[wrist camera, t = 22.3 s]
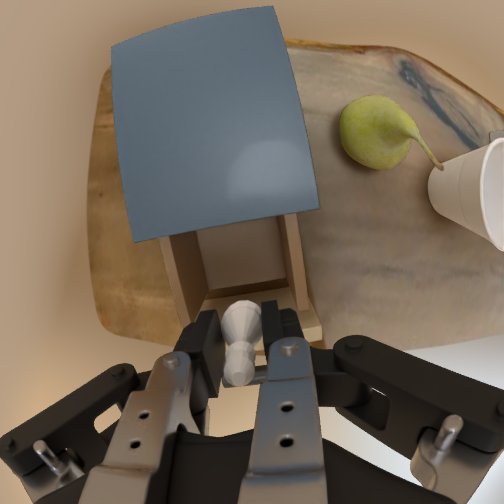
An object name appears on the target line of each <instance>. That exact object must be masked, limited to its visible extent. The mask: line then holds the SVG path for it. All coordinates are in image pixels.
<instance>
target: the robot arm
mask: <svg viewBox="0 0 504 504" xmlns="http://www.w3.org/2000/svg"><path fill="white" fill-rule="evenodd" d="M261 314H262V335H263V346H264V351H265V356H266V360H267V374H266V381H261V383H260V389H259V397H258V404H257V411H256V419H255V427H254V429H251V430H247V431H244V432H240V433H236V434H232V435H228V436H224V437H213V436H209V419H210V409H209V406H208V404H207V403H208V399H209V398H218V393H219V387H220V382H221V376H222V370H223V364H224V358H225V353H226V345H225V340H224V338H223V335H222V332H221V323H220V319H219V316H218V312H217V310H216V309H213V310H206V311H200V312H199V315H198V317H197V319H196V321H195V322H192V323H190V324H188V325H187V326H186V327H185V328H184V329H183V331H182V333H181V335H180V337H179V340H178V341H177V343H176V346H175V348H174V350H173V352H170V353H167V354H165V355H163V356H161V357H159V358H158V359H157V360H156V362H155V364H154V366H153V369H152V370H150V371H147V372H142V373H138V374H137V372H136V370H135V368H134V366H133V365H131V364H127V363H123V364H118V365H115V366H113V367H111V368H109V369H107V370H106V371H104V372H103V373H101V374H100V375H98V376H97V377H95V378H94V379H92V380H90V381H89V382H88V383H86V384H84V385H83V386H81V387H80V388H78V389H77V390H75V391H73V392H72V393H70V394H69V395H67V396H66V397H64V398H63V399H61V400H60V401H58V402H56V403H55V404H53V405H52V406H50V407H48V408H47V409H45V410H43V411H42V412H40V413H39V414H37V415H35V416H34V417H32V418H31V419H29V420H27V421H26V422H24V423H23V424H21V425H20V426H18V427H16V428H14V429H13V430H11V431H10V432H8V433H6V434H5V435H3V436H2V437H1V438H0V458H1V459H2V460H3V461H4V462H5V463H6V464H7V465H8V466H9V467H10V469H11V470H12V471H13V473H14V474H15V475H16V476H17V477H18V478H19V479H20V480H21V482H22V484H23V486H24V488H25V490H26V492H27V494H28V495H29V497H30V499H31V501H32V502H33V504H467V502H468V501H469V500H470V498H471V497H472V495H473V494H474V492H475V491H476V489H477V488H478V487H479V485H480V484H481V482H482V480H483V479H484V477H485V476H486V474H487V472H488V471H489V469H490V468H491V466H492V465H493V464H494V463H495V461H496V460H497V459H498V457H499V456H500V455H501V453H502V452H503V451H504V390H503V389H499V388H497V387H494V386H491V385H488V384H486V383H483V382H480V381H477V380H475V379H472V378H469V377H467V376H464V375H461V374H459V373H456V372H453V371H451V370H448V369H446V368H443V367H440V366H438V365H435V364H433V363H430V362H428V361H425V360H423V359H420V358H417V357H415V356H413V355H410V354H408V353H405V352H403V351H400V350H398V349H395V348H393V347H391V346H388V345H386V344H383V343H381V342H379V341H376V340H374V339H371V338H369V337H366V336H363V335H351V336H346V337H344V338H341V339H340V340H338V341H337V342H336V343H335V344H334V347H333V349H317V348H313V347H311V346H310V345H309V342H308V341H307V340H306V339H305V337H304V334H303V331H302V328H301V325H300V322H299V319H298V315H297V312H296V311H294V310H293V309H291V308H286V309H280V310H279V309H278V304H277V300H271V301H265V302H261ZM372 388H374V389H376V390H378V391H379V392H382V393H383V394H384V395H383V394H381V393H379V392H377V391H375V390H374V389H372ZM115 403H116V404H117V406H118V408H119V409H120V411H121V413H122V415H121V417H120V419H118V420H117V421H116V422H114V423H113V424H112V425H110V426H109V427H108V428H107V429H105V430H104V431H103V432H101V433H98V432H97V430H96V429H95V427H94V421H95V419H96V417H97V416H99V415H100V414H102V413H103V412H104V411H106V410H107V409H108V408H110V407H111V406H112V405H114V404H115ZM318 407H335V409H336V411H337V412H338V413H339V414H341V415H342V416H344V417H345V418H346V419H348V420H349V421H351V422H352V423H353V424H355V425H357V426H358V427H359V428H361V429H362V430H364V431H365V432H367V433H368V434H370V435H371V436H373V437H374V438H376V439H377V440H379V441H381V442H382V443H384V444H385V445H387V446H388V447H390V448H391V449H393V450H395V451H396V452H398V453H400V454H401V455H403V456H405V457H406V458H408V459H410V460H411V463H410V470H411V473H412V475H413V476H414V477H415V478H416V479H417V480H418V481H419V482H420V483H421V484H422V486H423V487H422V486H419V485H417V484H414V483H412V482H409V481H407V480H405V479H403V478H400V477H398V476H396V475H394V474H392V473H390V472H387V471H385V470H383V469H381V468H379V467H377V466H375V465H373V464H371V463H369V462H368V461H366V460H364V459H362V458H360V457H358V456H356V455H354V454H353V453H351V452H349V451H347V450H345V449H344V448H342V447H340V446H338V445H337V444H335V443H333V442H331V441H329V440H326V439H324V438H322V435H321V425H320V416H319V408H318ZM66 448H67V450H66Z"/></svg>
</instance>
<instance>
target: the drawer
mask: <svg viewBox="0 0 504 504" xmlns="http://www.w3.org/2000/svg"><path fill="white" fill-rule="evenodd" d="M158 239H159V243H160V248H161V252H162V256H163V260H164V264H165V268H166V272H167V276H168V280H169V284H170V287H171V291H172V295H173V298H174V302H175V305H176V309H177V312H178V316H179V319H180V322H181V325H182V328H185V327H186V326H187V325H188V324H190V323H192V322H195V321H196V319H197V317H198V315H199V312H200V311H206V310H213V309H216V310H217V312H218V316H219V319H220V323H221V321H222V318H223V315H224V313H225V312H226V310H227V309H228V308H229V307H230V305H232V304H234V303H236V302H238V301H246V300H248V301H251V302H253V303H255V304H257V305H258V306H259V307H260V309H261V302H265V301H271V300H277V304H278V309H279V310H280V309H286V308H291V309H293V310H294V311H296V312H297V315H298V319H299V322H300V325H301V328H302V331H303V334H304V337H305V339H306V340H307V341H308V342H312V341H318V340H322V327H321V324H320V322H319V320H318V317H317V315H316V313H315V311H314V309H313V307H312V304H311V302H310V300H309V298H308V293H307V285H306V277H305V269H304V261H303V254H302V247H301V240H300V233H299V226H298V220H297V213H292V214H286V215H280V216H274V217H268V218H262V219H256V220H250V221H245V222H239V223H234V224H228V225H223V226H217V227H212V228H207V229H201V230H196V231H191V232H186V233H181V234H176V235H171V236H166V237H161V238H158ZM282 278H287V280H288V283H289V286H290V287H285V288H279V289H273V290H267V291H261V292H255V293H249V294H242V295H236V296H229V297H223V298H216V299H209V300H205V298H206V295H207V293H208V291H209V290H213V289H220V288H227V287H233V286H239V285H246V284H252V283H258V282H264V281H270V280H276V279H282ZM225 345H226V352H227V349H228V348H229V346H228V345H227V344H226V342H225ZM254 350H255V351H259V350H264V346H263V336H262V338H261V340H260V341H259V342H258V343H257V345H256V346H255V347H254ZM225 362H226V353H225V358H224V364H223V370H222V376H221V378H222V384H223V386H224V387H225V388H230V387H236V386H233V385H231V384H230V383H229V382H227V381H226V378H225V376H224V366H225ZM266 374H267V365H262V366H255V375H254V377H253V379H252V380H251V381H250V382H249V383H248V384H247V385H244V386H249V385H258V384H260V383H261V381H266ZM237 387H241V386H237Z"/></svg>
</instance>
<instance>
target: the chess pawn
mask: <svg viewBox="0 0 504 504" xmlns="http://www.w3.org/2000/svg"><path fill="white" fill-rule="evenodd" d="M221 332H222V335H223V338H224V340H225V342H226V344H227V345H228V346H229V348H228V349H227V352H226V362H225V366H224V376H225V378H226V381H227V382H229V383H230V384H231V385H233V386H236V387H237V386H244V385H247V384H248V383H249V382H250V381H251V380H252V379H253V377H254V375H255V362H254V361H255V355H256V353H255V350H254V347H255V346H256V345H257V343H258V342H259V341H260V340H261V338H262V336H263V335H262V314H261V309H260V307H259V306H258V305H257V304H255V303H253V302H251V301H248V300H246V301H238V302H236V303H234V304H232V305H230V307H229V308H228V309H227V310H226V312H225V313H224V315H223V318H222V321H221Z"/></svg>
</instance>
